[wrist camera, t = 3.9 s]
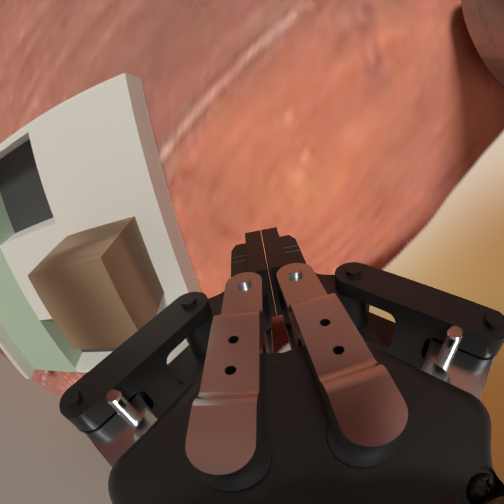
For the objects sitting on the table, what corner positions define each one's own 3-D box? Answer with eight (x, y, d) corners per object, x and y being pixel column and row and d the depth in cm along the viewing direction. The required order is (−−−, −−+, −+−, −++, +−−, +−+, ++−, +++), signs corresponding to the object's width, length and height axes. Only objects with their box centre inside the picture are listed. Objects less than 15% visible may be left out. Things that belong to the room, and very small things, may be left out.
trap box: (141, 77, 12) (112, 69, 9) (220, 342, 22) (218, 381, 18) (-44, 191, 13) (-70, 207, 10) (38, 353, 23) (25, 378, 19)
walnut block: (134, 216, 14) (100, 257, 10) (164, 291, 16) (146, 345, 12) (67, 235, 14) (27, 275, 10) (99, 301, 16) (73, 349, 12)
